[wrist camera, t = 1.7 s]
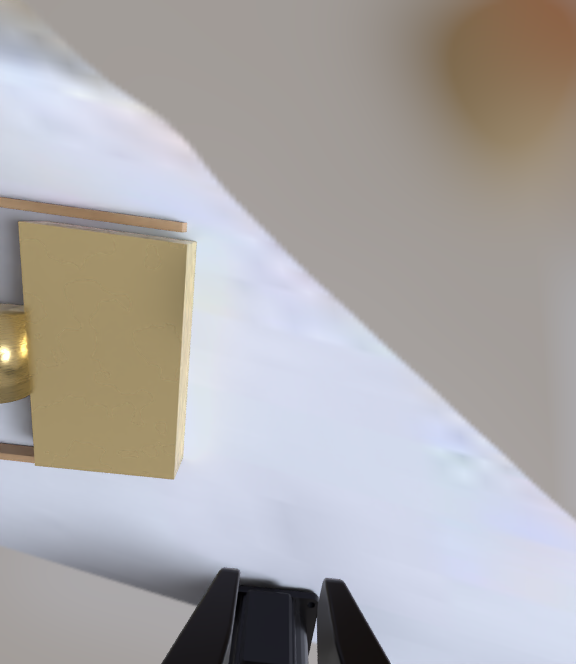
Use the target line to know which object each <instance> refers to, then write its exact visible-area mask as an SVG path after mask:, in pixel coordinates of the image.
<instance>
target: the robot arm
mask: <svg viewBox="0 0 576 664" xmlns="http://www.w3.org/2000/svg"><path fill="white" fill-rule="evenodd" d="M239 579H240V570H239V569H235V568H226V567H224V568H222V569H221V570H220V571H219V572H218V574H217V575H216V577H215V579H214V580H213V582H212V583H211V585H210V587H209V588H208V590H207V591H206V593H205V595H204V596H203V598H202V599H201V601H200V603H199V604H198V606H197V607H196V609H195V611H194V612H193V614H192V615H191V617H190V619H189V620H188V622H187V624H186V625H185V627H184V629H183V630H182V631H181V633H180V635H179V636H178V638H177V639H176V641H175V643H174V644H173V646H172V648H171V649H170V651H169V652H168V654H167V655H166V657H165V659H164V660H163V662H162V663H161V664H308V655H309V651H310V646H311V641H312V637H313V632H314V627H315V623H316V618H317V650H318V651H317V652H318V664H391V663H390V661H389V659H388V658H387V656H386V654H385V652H384V651H383V649H382V647H381V645H380V644H379V642H378V640H377V638H376V637H375V635H374V633H373V631H372V630H371V628H370V626H369V624H368V623H367V621H366V619H365V618H364V616H363V614H362V612H361V611H360V609H359V607H358V605H357V604H356V602H355V600H354V598H353V597H352V595H351V593H350V591H349V590H348V588H347V586H346V584H345V583H344V582H343V581H342V580H340V579H332V578H325V579H324V581H323V583H322V588H321V593H320V598H319V597H318V596H317V595H316V594H314V593H308V592H298V591H288V590H278V589H269V588H259V587H249V586H239Z"/></svg>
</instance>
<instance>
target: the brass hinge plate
mask: <svg viewBox="0 0 576 664" xmlns="http://www.w3.org/2000/svg"><path fill="white" fill-rule="evenodd" d="M18 227H19V242H20V256H21V271H22V285H23V300H24V305H15V304H0V404H1V403H8V402H13V401H16V400H20V399H22V398H25V397H27V396H29V395H30V401H31V415H32V430H33V444H34V459H35V466H44V467H54V468H64V469H74V470H84V471H94V472H104V473H114V474H124V475H134V476H144V477H154V478H164V479H174V478H175V476H176V473H177V471H178V468H179V466H180V464H181V461H182V459H183V450H184V434H185V418H186V403H187V387H188V371H189V356H190V340H191V324H192V309H193V293H194V277H195V262H196V246H197V242H194V241H187V240H180V239H172V238H165V237H158V236H151V235H144V234H136V233H129V232H122V231H115V230H108V229H100V228H93V227H86V226H79V225H71V224H64V223H57V222H50V221H18Z"/></svg>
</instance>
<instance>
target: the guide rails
mask: <svg viewBox="0 0 576 664" xmlns="http://www.w3.org/2000/svg"><path fill="white" fill-rule="evenodd" d="M0 207H4V208H11V209H18V210H25V211H32V212H40V213H47V214H54V215H61V216H68V217H76V218H83V219H90V220H97V221H104V222H111V223H119V224H126V225H133V226H140V227H147V228H154V229H162V230H169V231H176V232H186V230H187V223H183V222H176V221H169V220H162V219H155V218H148V217H141V216H134V215H126V214H119V213H112V212H105V211H98V210H91V209H84V208H77V207H69V206H62V205H55V204H48V203H41V202H34V201H27V200H20V199H12V198H5V197H0ZM0 459H3V460H12V461H21V462H30V463H35V459H34V447H30V446H21V445H12V444H4V443H0Z"/></svg>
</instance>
